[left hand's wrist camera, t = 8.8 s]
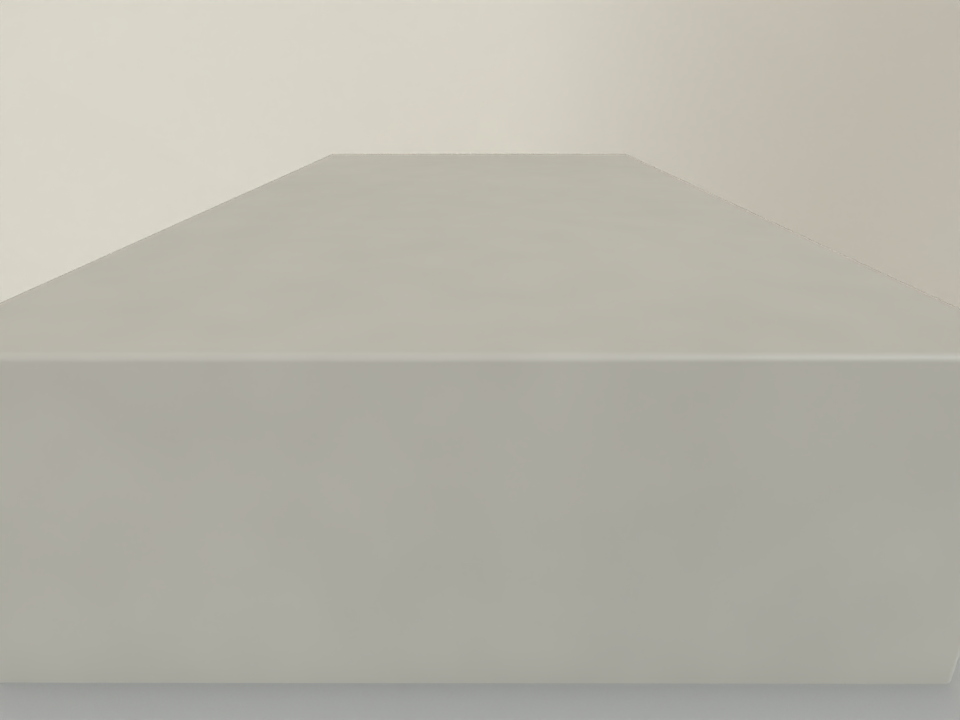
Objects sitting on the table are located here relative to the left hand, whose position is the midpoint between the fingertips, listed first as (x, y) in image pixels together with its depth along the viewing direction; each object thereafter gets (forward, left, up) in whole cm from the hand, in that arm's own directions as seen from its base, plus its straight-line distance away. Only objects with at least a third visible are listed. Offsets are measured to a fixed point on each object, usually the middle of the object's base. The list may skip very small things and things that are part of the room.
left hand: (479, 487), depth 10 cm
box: (-2, +10, -7) cm, 12 cm away
